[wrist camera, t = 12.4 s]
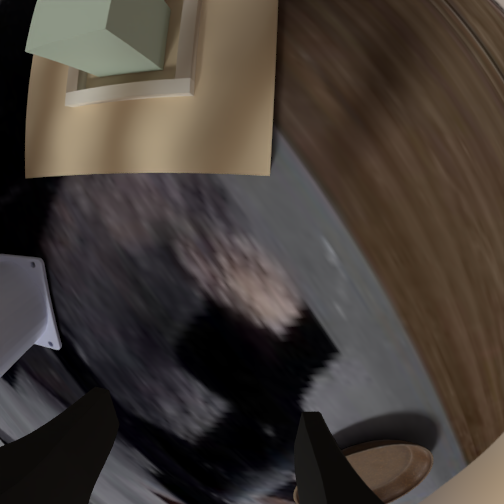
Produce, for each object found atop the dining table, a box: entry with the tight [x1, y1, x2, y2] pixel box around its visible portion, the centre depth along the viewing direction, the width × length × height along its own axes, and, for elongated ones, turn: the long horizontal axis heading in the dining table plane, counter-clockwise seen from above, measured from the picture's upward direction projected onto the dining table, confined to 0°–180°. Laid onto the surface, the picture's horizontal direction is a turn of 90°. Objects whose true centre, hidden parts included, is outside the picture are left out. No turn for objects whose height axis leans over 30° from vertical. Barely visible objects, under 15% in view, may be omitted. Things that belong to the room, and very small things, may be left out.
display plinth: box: [25, 0, 278, 178], centre depth 14 cm, size 16×16×2 cm
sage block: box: [25, 0, 171, 77], centre depth 11 cm, size 4×4×7 cm
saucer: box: [293, 440, 433, 504], centre depth 25 cm, size 15×15×3 cm
